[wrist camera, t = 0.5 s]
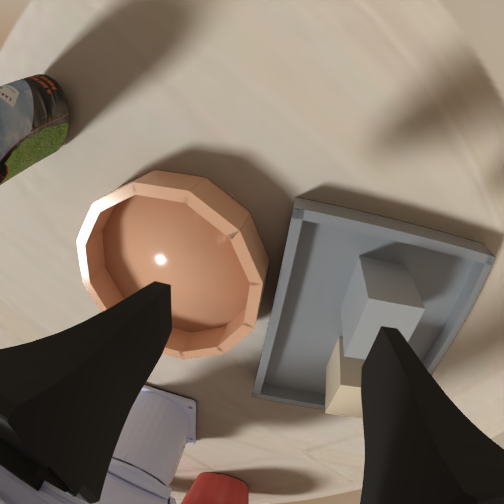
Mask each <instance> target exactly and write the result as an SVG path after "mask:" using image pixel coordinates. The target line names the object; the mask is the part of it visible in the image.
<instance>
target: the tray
mask: <svg viewBox="0 0 504 504" xmlns="http://www.w3.org/2000/svg"><path fill="white" fill-rule="evenodd" d="M359 256H363V257H368V258H372V259H377V260H382V261H386V262H391V263H395V264H400V265H404V266H407V268H408V270H409V272H410V275H411V277H412V279H413V281H414V284H415V286H416V288H417V290H418V293H419V295H420V297H421V300H422V302H423V305H424V307H425V310H424V312H423V314H422V316H421V318H420V320H419V322H418V324H417V326H416V328H415V330H414V332H413V334H412V336H411V337H410V339H409V341H408V343H409V345H410V346H411V348H412V349H413V351H414V352H415V353H416V355H417V356H418V358H419V359H420V361H421V362H422V363H423V365H424V366H425V368H426V369H427V370H428V372H429V373H430V374H431V373H432V372H433V371H434V369H435V368H436V366H437V365H438V363H439V361H440V360H441V358H442V357H443V355H444V354H445V352H446V351H447V349H448V347H449V346H450V344H451V342H452V341H453V339H454V337H455V336H456V334H457V332H458V331H459V329H460V327H461V326H462V324H463V322H464V320H465V318H466V317H467V315H468V313H469V311H470V309H471V307H472V306H473V304H474V302H475V300H476V298H477V296H478V294H479V292H480V290H481V288H482V286H483V284H484V282H485V280H486V278H487V275H488V273H489V271H490V269H491V267H492V265H493V262H494V260H495V258H496V257H495V256H494V255H493V254H492V252H491V251H490V250H489V249H488V248H487V247H486V246H485V245H484V244H481V243H478V242H475V241H471V240H468V239H465V238H461V237H458V236H454V235H451V234H447V233H443V232H440V231H436V230H433V229H429V228H425V227H421V226H418V225H414V224H410V223H406V222H402V221H398V220H394V219H390V218H386V217H382V216H378V215H374V214H370V213H366V212H361V211H357V210H353V209H349V208H344V207H340V206H335V205H331V204H326V203H321V202H317V201H312V200H307V199H303V198H298V197H295V201H294V206H293V211H292V216H291V221H290V226H289V231H288V236H287V241H286V246H285V251H284V255H283V260H282V265H281V270H280V274H279V279H278V284H277V288H276V293H275V297H274V302H273V306H272V311H271V315H270V320H269V324H268V329H267V333H266V337H265V342H264V346H263V351H262V355H261V359H260V363H259V368H258V372H257V376H256V380H255V384H254V389H253V393H252V397H255V398H260V399H265V400H270V401H275V402H280V403H286V404H291V405H297V406H303V407H309V408H316V409H323V410H325V397H326V366H327V364H328V362H329V359H330V357H331V355H332V352H333V350H334V348H335V345H336V343H337V340H338V338H339V337H342V338H343V333H342V319H341V307H342V304H343V301H344V298H345V295H346V293H347V290H348V287H349V284H350V281H351V278H352V275H353V272H354V269H355V266H356V263H357V260H358V257H359Z"/></svg>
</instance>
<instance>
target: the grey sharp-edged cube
mask: <svg viewBox="0 0 504 504" xmlns="http://www.w3.org/2000/svg"><path fill="white" fill-rule="evenodd" d="M424 310H425V307H424V305H423V302H422V300H421V297H420V295H419V293H418V290H417V288H416V286H415V284H414V281H413V279H412V277H411V275H410V272H409V270H408V268H407V266H404V265H400V264H395V263H391V262H386V261H382V260H377V259H372V258H368V257H363V256H359V257H358V260H357V263H356V266H355V269H354V272H353V275H352V278H351V281H350V284H349V287H348V290H347V293H346V295H345V298H344V301H343V304H342V307H341V319H342V333H343V350H344V356H345V357H351V358H358V359H365V360H366V358H367V356H368V353H369V351H370V349H371V347H372V345H373V343H374V341H375V339H376V337H377V334H378V332H379V330H380V328H381V326H384V327H391V328H397V329H398V330H399V331H400V332H401V334H402V335H403V336H404V338H405V339H406V341H407V342H408V341H409V339H410V337H411V336H412V334H413V332H414V330H415V328H416V326H417V324H418V322H419V320H420V318H421V316H422V314H423V312H424Z"/></svg>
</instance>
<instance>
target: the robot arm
mask: <svg viewBox="0 0 504 504" xmlns="http://www.w3.org/2000/svg"><path fill="white" fill-rule="evenodd" d="M171 331H172V310H171V285H169V284H165V283H161V282H157V281H154V282H152V283H150V284H149V285H147V286H145V287H144V288H142V289H140V290H139V291H137V292H135V293H134V294H132V295H130V296H129V297H127V298H125V299H124V300H122V301H120V302H119V303H117V304H115V305H114V306H112V307H110V308H109V309H107V310H105V311H103V312H101V313H99V314H97V315H96V316H94V317H92V318H90V319H88V320H86V321H84V322H82V323H80V324H78V325H76V326H74V327H71V328H69V329H66V330H64V331H62V332H59V333H57V334H54V335H51V336H48V337H45V338H42V339H39V340H36V341H33V342H30V343H26V344H22V345H18V346H14V347H9V348H4V349H0V504H176V501H175V499H174V498H173V497H170V494H171V491H172V489H171V488H169V487H168V486H169V484H170V483H171V482H172V480H173V478H174V475H175V472H176V470H177V467H178V464H179V462H180V459H181V456H182V453H183V451H184V448H185V445H186V443H189V444H195V443H196V402H195V401H194V400H192V399H188V398H185V397H181V396H178V395H174V394H171V393H168V392H165V391H162V390H158V389H155V388H152V387H149V386H146V385H144V384H145V383H146V381H147V379H148V377H149V376H150V374H151V372H152V371H153V369H154V367H155V365H156V364H157V362H158V360H159V358H160V357H161V355H162V353H163V351H164V348H165V346H166V344H167V341H168V339H169V336H170V334H171ZM361 401H362V413H363V425H364V439H365V465H364V478H363V487H362V494H361V502H360V504H504V449H502V448H501V447H500V446H499V445H497V444H496V443H495V442H493V441H492V440H491V439H490V438H489V437H487V436H486V435H485V434H484V433H483V432H482V431H480V430H479V429H478V428H477V427H476V426H475V425H474V424H473V423H472V422H471V421H470V420H469V419H468V418H467V417H466V416H465V415H464V414H463V413H462V412H461V411H460V410H459V409H458V408H457V406H456V405H455V404H454V403H453V402H452V401H451V400H450V399H449V397H448V396H447V395H446V394H445V393H444V391H443V390H442V389H441V387H440V386H439V385H438V384H437V382H436V381H435V380H434V378H433V377H432V376H431V374H430V373H429V372H428V370H427V369H426V368H425V366H424V365H423V363H422V362H421V361H420V359H419V358H418V356H417V355H416V353H415V352H414V351H413V349H412V348H411V346H410V345H409V343H408V342H407V341H406V339H405V338H404V336H403V335H402V334H401V332H400V331H399V330H398V329H397V328H391V327H384V326H381V328H380V330H379V332H378V334H377V337H376V339H375V341H374V343H373V345H372V347H371V349H370V351H369V353H368V356H367V358H366V360H365V362H364V364H363V366H362V372H361Z"/></svg>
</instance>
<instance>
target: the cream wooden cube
mask: <svg viewBox="0 0 504 504" xmlns="http://www.w3.org/2000/svg"><path fill="white" fill-rule="evenodd" d="M364 362H365V359H358V358H351V357H345V356H344V350H343V338H342V337H339V338H338V340H337V343H336V345H335V348H334V350H333V352H332V355H331V357H330V359H329V362H328V364H327V366H326V397H325V413H326V414H333V415H341V416H350V417H359V418H363V413H362V401H361V372H362V366H363V364H364Z"/></svg>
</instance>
